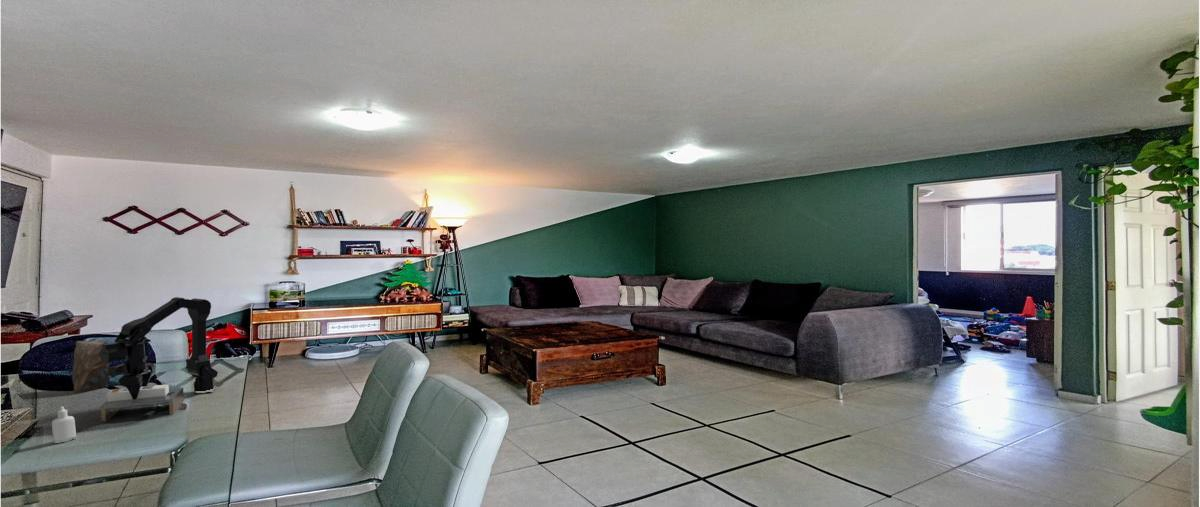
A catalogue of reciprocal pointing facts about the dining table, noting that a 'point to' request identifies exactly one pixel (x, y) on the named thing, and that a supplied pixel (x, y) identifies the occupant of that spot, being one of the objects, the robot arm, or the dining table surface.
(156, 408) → the dining table surface
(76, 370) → the brown paper bag
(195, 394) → the dining table surface
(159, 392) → the power strip
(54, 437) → the eye dropper bottle
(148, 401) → the keyhole board
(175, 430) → the dining table surface
